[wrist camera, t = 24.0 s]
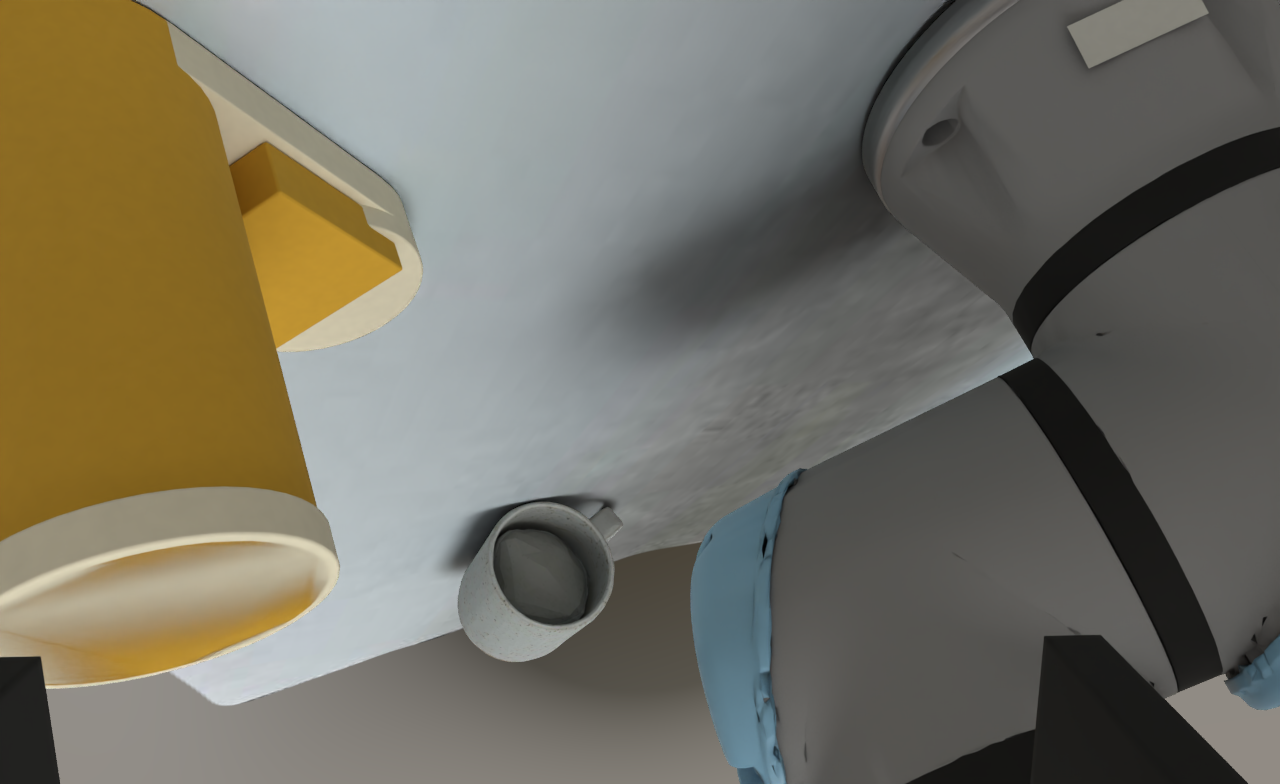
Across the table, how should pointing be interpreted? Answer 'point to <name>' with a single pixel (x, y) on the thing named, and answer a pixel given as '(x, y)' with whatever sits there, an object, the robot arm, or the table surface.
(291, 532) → the rain boot
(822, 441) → the table surface
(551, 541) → the ceramic mug
